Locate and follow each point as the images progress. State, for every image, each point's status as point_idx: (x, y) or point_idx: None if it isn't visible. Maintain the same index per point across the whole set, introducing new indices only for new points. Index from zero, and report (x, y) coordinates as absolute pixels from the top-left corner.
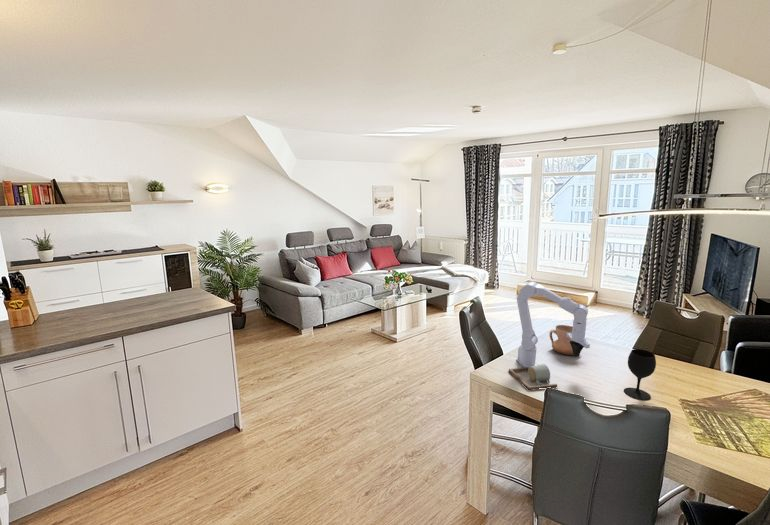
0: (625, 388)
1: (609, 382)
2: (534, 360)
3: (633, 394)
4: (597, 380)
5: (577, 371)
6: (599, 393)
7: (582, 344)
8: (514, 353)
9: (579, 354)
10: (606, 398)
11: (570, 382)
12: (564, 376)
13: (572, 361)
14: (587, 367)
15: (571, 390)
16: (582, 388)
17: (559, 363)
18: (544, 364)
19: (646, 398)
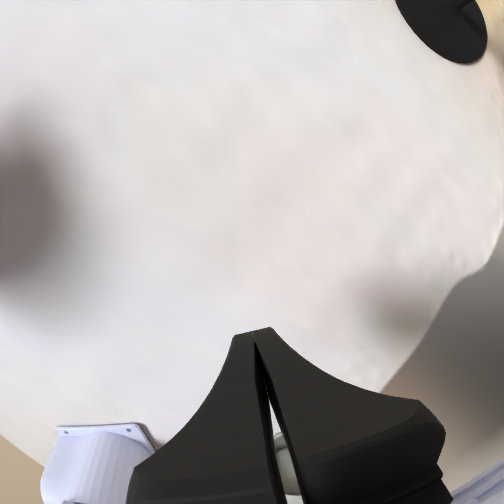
0: (410, 20)
1: (333, 50)
2: (134, 465)
3: (467, 38)
4: (309, 116)
5: (163, 204)
6: (451, 203)
7: (487, 496)
8: (25, 449)
9: (281, 338)
10: (485, 195)
11: (333, 320)
12: (253, 330)
13: (11, 179)
14: (92, 96)
15: (409, 340)
16: (402, 276)
17: (54, 288)
18: (301, 500)
19: (479, 11)
